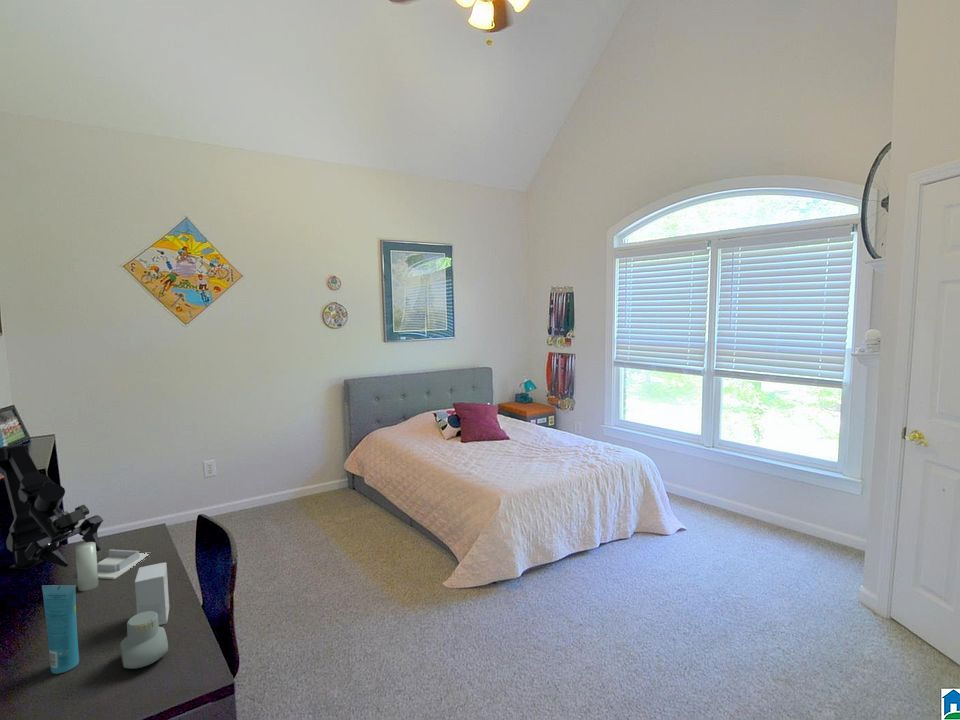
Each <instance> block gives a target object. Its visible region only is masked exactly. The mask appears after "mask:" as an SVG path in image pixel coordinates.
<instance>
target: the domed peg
mask: <svg viewBox="0 0 960 720" xmlns="http://www.w3.org/2000/svg"><path fill="white" fill-rule="evenodd" d="M74 547H75V548H74V550H75V551H74V552H75V563H76V575H77V576H76V577H77V588H78V589H77V590H78V591H79V592H89V591H91V590H93V589H94V590H95V588H97V587H98V586H99V585H100V583H99V578H98V569H97V563H98V558H97V551H96V543H95V542H87V543H86V542H83V543H80V544H78V545H76V546H74Z"/></svg>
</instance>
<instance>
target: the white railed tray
mask: <svg viewBox="0 0 960 720" xmlns="http://www.w3.org/2000/svg"><path fill="white" fill-rule="evenodd" d="M139 552H140V550H130V549H128V550H127V549H111V548H110V549H109V550H108V556H107V557H106V558H103V559H102V560H100V561H99V562H97V569H98V579H105V580H115V579H117V578H118V577H120V576H121V575H123V574H124V573H126V572H127V571H129V570H131V569H132V568H134V567H135V566H137V565H138V564H139V563H138V562H140V561H141V560H143V559H144V558H145V557H146V556H148V555H149V554H147V553H148V552H145V554H144V553H139ZM144 560H145V559H144ZM144 560H143V561H144ZM141 562H142V561H141ZM141 562H140V563H141ZM137 563H138V564H137ZM136 564H137V565H136ZM133 566H134V567H133ZM130 568H131V569H130Z"/></svg>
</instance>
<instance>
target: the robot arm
mask: <svg viewBox="0 0 960 720" xmlns="http://www.w3.org/2000/svg"><path fill="white" fill-rule="evenodd" d="M0 474H1V475H2V476H3V481H4V482H5V488H6V491H7V495H8V500H9V503H10V508H11V510H12V511H11V512H12V515H13V521H12V523H11V525H10V527H9V533H8V536H7V538H6V541H5V542H6V543H5V544H6V549H7V550H9V551H10V552H11V553H13V559H14V560H13V561H14V564H12V565H10V566H9V569H15V570H16V569H17V570H28V569H31V568H33V567H35V566H37V565H39V564H41V563H42V562H45V561H46V562H49V563H52V564H55V565H58V566H61V567H64V568H68V566H69V565H70V564H69V562H68V560H67V559H66V558H65V556H63V554H62V553H61V552H60V551H59V550H58V547H57V544H58V543H60V542H62V541H65V540H67V539H69V538H72V537H74V536H76V535H79V536H82V538H81V539H82V541H84V543H87V542H95V543H96V553H97V552H100V551H101V549H102V548H101V545H100V540H99V536H98V531H99V528H100V527H101V524H102V523H103V522H104V519H103V518H102V517H101V516H100V515H93V516H90V517H88V518H87V517H86V516H87V515H89V514H90V509H89V508H88V507H87V506H86V505H85V504H81V505H79V506H76V507H75V508H74V510H73V511H72V512H68V511H62V510H61V508H60V505H61V503H62V500H63V499H64V497H65V493H66V490H65V487H63V486H62V485H60V484H57V483H55V482H54V481H53V480H51V478H50V477H49V476H48V475H46V474H44V473H41V472H40V471H39V469H38V468H37V466H36V464H35V462H34V461H33V459H32V457H31V455H30V451H29V445H28V444H20V443H18V444H17V443H16V444H11V445H4V446H0ZM32 503H33V504H32ZM81 520H83V521H82V523H81V524H80V521H81ZM79 524H80V525H79ZM78 525H79V526H78Z"/></svg>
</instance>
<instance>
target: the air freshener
mask: <svg viewBox="0 0 960 720" xmlns="http://www.w3.org/2000/svg"><path fill="white" fill-rule="evenodd" d="M126 631H127V633H126V634H127V636H126V637H125V638H123V640H121V642H119V644H120V646H119V647H120V654H121V661H122V665H123V668H124V669H130V670H131V669H134V670H135V669H139V668H144V667H147V666H149V665H151V664H154V663H155V662H157V661H159V660H160V659H161V658H162V657H164V656H165V655H166V653H168V651H169V643H168V642H169V641H168V637H167V636H168V635H167V633H166V630H165V628H164V627H163V626H160V625H158V614H157V613H156V612H153V611H146V612H142V613H139V614H137V613H136V614H134V615H133V616H131V617H130V618H129V619H128V620H127V622H126Z"/></svg>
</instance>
